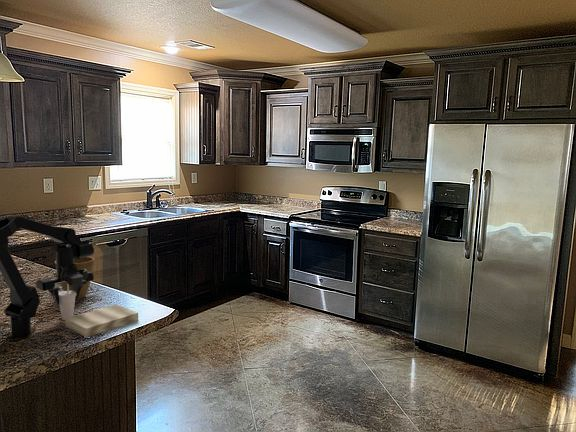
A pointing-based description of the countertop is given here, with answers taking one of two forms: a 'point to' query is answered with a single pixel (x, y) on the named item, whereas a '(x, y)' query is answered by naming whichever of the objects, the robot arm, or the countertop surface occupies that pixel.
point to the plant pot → (81, 264)
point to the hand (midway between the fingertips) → (66, 302)
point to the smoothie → (67, 303)
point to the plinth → (101, 320)
